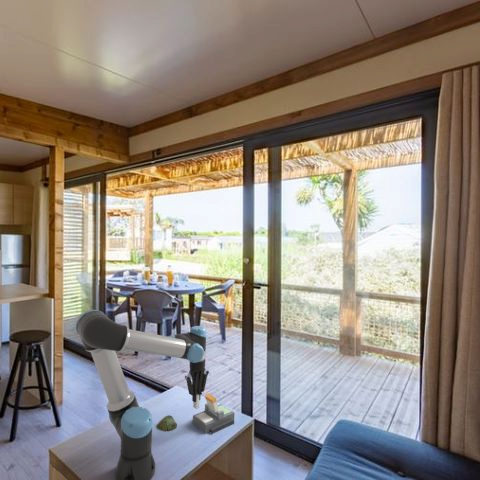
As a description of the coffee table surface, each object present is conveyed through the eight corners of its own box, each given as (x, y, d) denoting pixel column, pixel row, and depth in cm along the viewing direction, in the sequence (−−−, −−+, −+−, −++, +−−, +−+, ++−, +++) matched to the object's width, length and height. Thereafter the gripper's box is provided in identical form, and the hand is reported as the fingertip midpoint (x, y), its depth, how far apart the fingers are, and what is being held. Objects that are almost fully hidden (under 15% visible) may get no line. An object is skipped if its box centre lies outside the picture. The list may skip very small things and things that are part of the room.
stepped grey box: (206, 433, 159) (206, 418, 158) (192, 423, 167) (192, 408, 167) (234, 420, 171) (235, 406, 171) (220, 411, 179) (220, 397, 179)
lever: (217, 416, 166) (212, 401, 163) (208, 410, 171) (203, 395, 169) (221, 413, 167) (216, 398, 165) (211, 407, 173) (207, 392, 170)
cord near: (212, 434, 159) (212, 430, 159) (209, 432, 160) (209, 428, 160) (234, 423, 168) (234, 420, 168) (231, 422, 169) (231, 418, 169)
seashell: (154, 422, 160) (162, 411, 170) (153, 430, 160) (161, 419, 170) (174, 426, 159) (181, 415, 169) (173, 434, 159) (180, 423, 169)
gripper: (190, 364, 154) (189, 415, 154) (213, 358, 162) (211, 406, 163) (181, 359, 159) (180, 408, 160) (203, 353, 168) (202, 400, 168)
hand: (196, 407), depth 161 cm, fingers closed
